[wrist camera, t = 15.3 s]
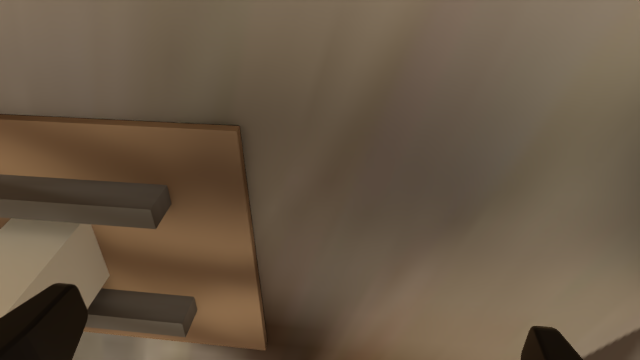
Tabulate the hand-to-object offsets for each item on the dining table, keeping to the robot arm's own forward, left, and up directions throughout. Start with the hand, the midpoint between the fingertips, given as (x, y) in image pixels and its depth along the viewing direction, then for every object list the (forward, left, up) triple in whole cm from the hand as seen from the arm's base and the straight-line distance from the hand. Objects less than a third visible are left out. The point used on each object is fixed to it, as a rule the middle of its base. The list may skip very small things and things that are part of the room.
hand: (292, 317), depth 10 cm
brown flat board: (-11, +16, -13) cm, 23 cm away
